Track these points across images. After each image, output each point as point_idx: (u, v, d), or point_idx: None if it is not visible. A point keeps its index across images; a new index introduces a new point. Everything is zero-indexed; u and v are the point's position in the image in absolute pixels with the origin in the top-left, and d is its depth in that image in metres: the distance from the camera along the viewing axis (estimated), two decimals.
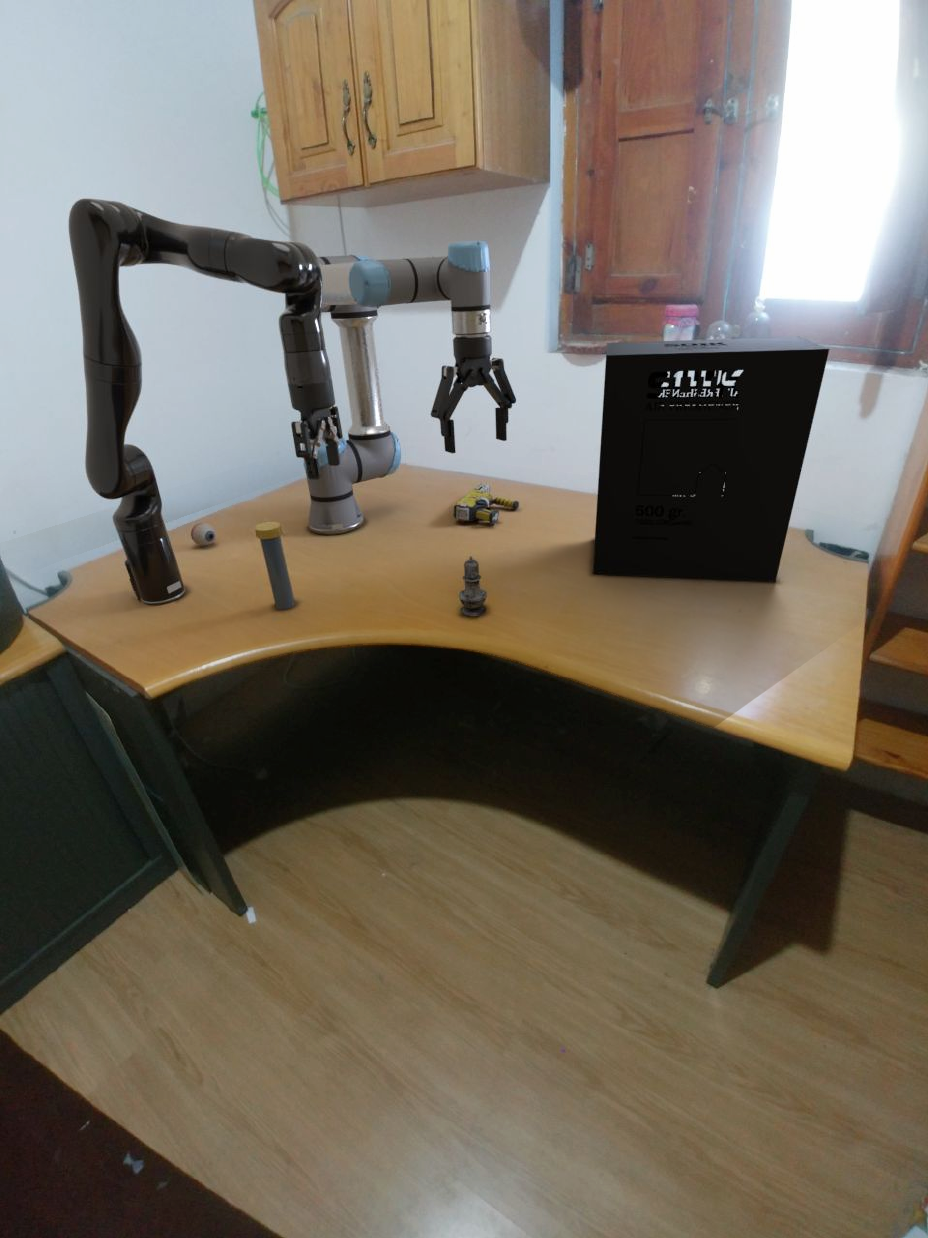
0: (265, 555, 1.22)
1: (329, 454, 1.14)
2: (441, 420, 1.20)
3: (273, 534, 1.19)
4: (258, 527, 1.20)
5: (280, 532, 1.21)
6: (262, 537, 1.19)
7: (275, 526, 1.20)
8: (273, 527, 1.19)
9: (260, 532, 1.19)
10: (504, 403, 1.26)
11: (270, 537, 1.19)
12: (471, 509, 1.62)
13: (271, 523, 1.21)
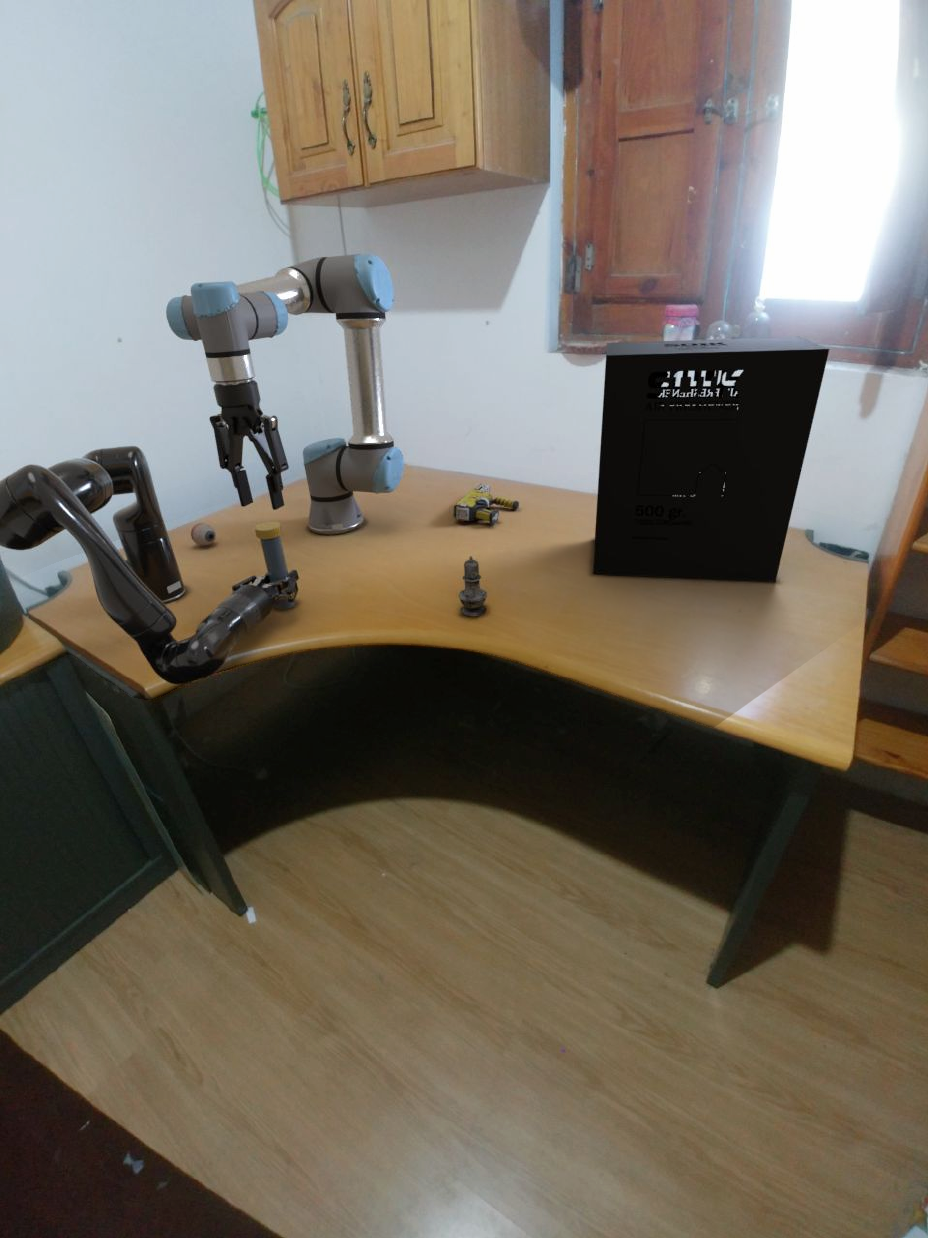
0: (265, 555, 1.22)
1: None
2: (279, 474, 1.13)
3: (273, 534, 1.19)
4: (258, 527, 1.20)
5: (280, 532, 1.21)
6: (262, 537, 1.19)
7: (275, 526, 1.20)
8: (273, 527, 1.19)
9: (260, 532, 1.19)
10: None
11: (270, 537, 1.19)
12: (471, 509, 1.62)
13: (271, 523, 1.21)
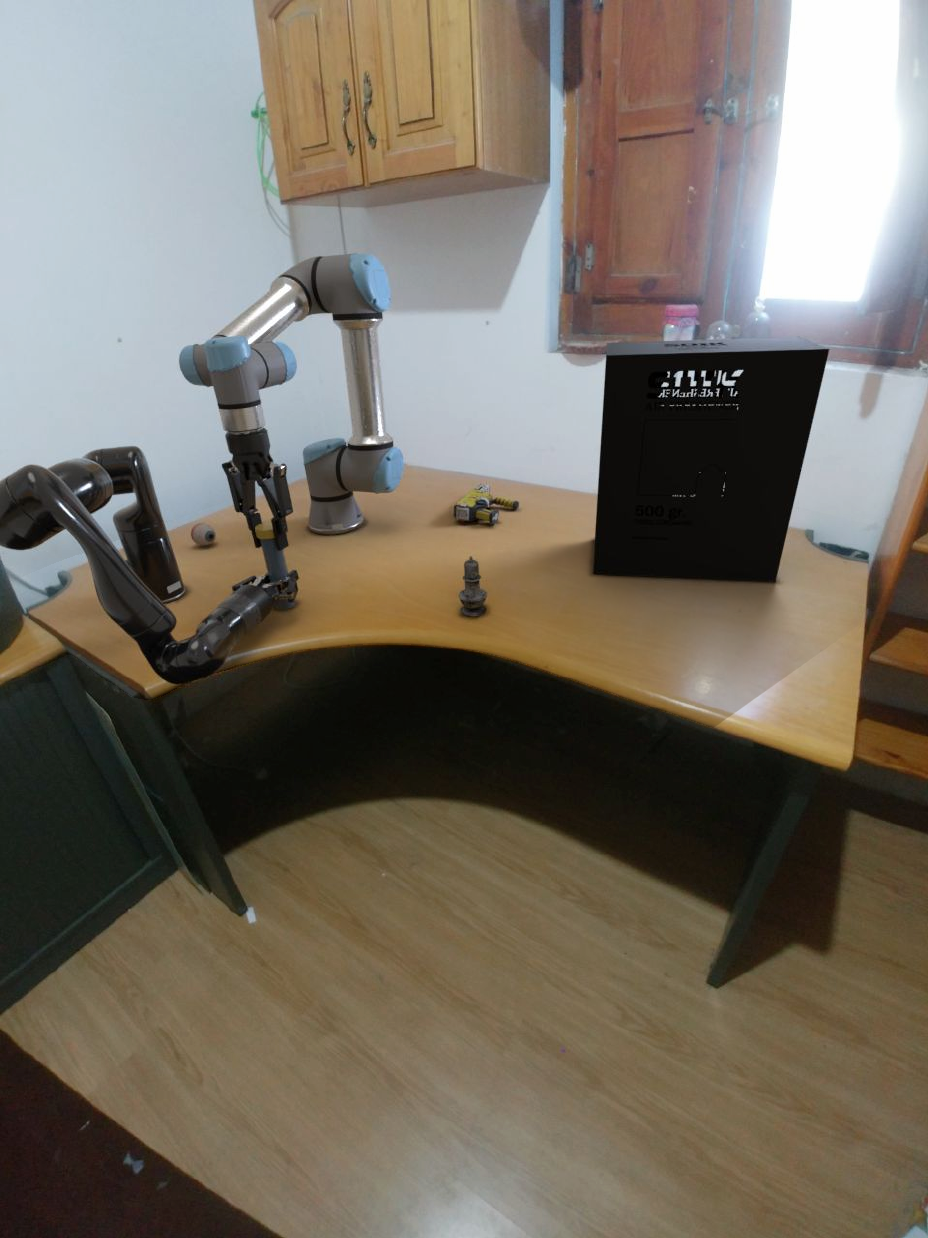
0: (265, 555, 1.22)
1: None
2: (283, 517, 1.18)
3: (273, 534, 1.19)
4: (258, 527, 1.20)
5: None
6: (262, 537, 1.19)
7: None
8: None
9: (260, 532, 1.19)
10: None
11: (270, 537, 1.19)
12: (471, 509, 1.62)
13: (271, 523, 1.21)
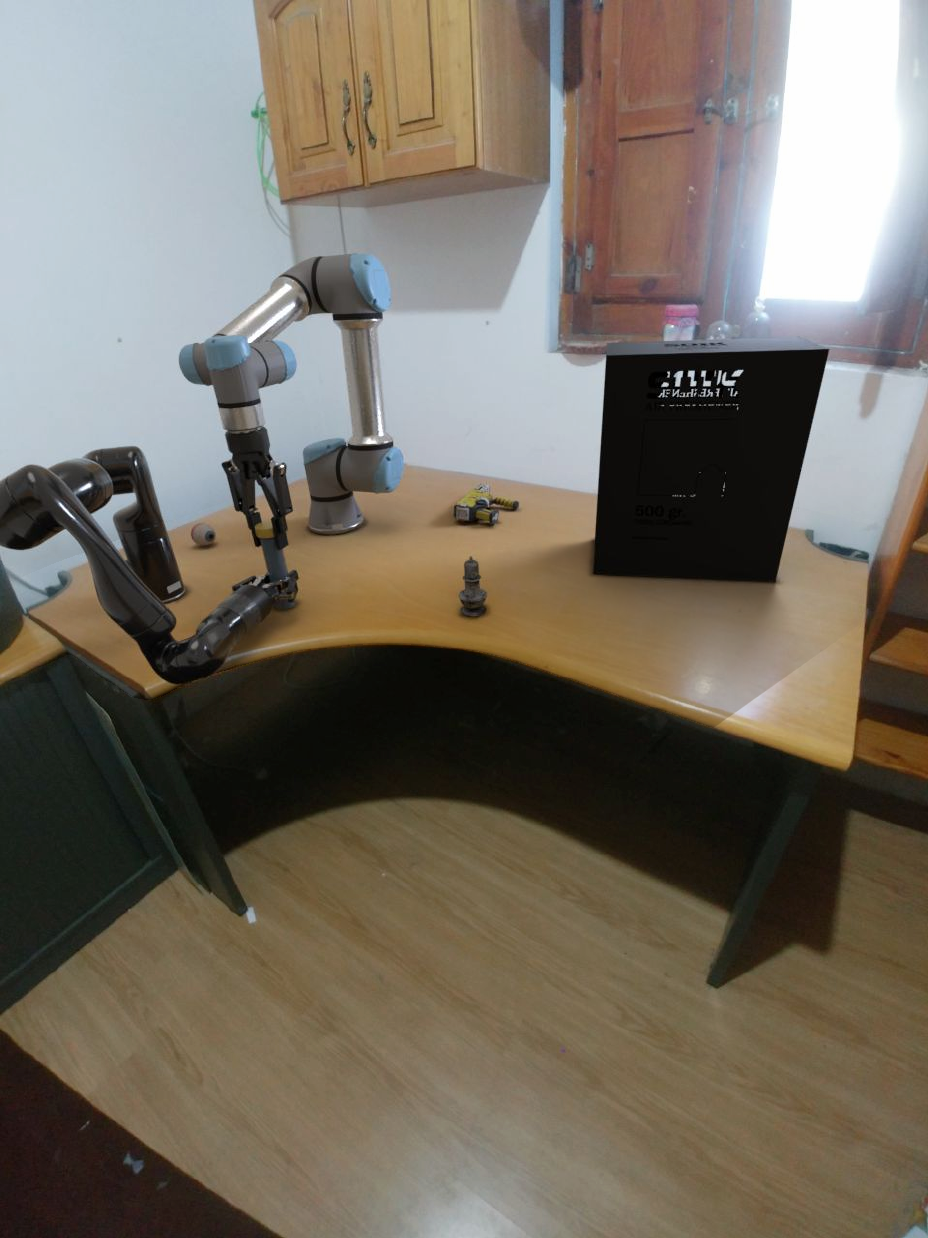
0: (265, 555, 1.22)
1: None
2: (283, 516, 1.18)
3: None
4: None
5: None
6: None
7: (266, 522, 1.22)
8: (269, 521, 1.22)
9: None
10: None
11: None
12: (471, 509, 1.62)
13: (260, 526, 1.20)
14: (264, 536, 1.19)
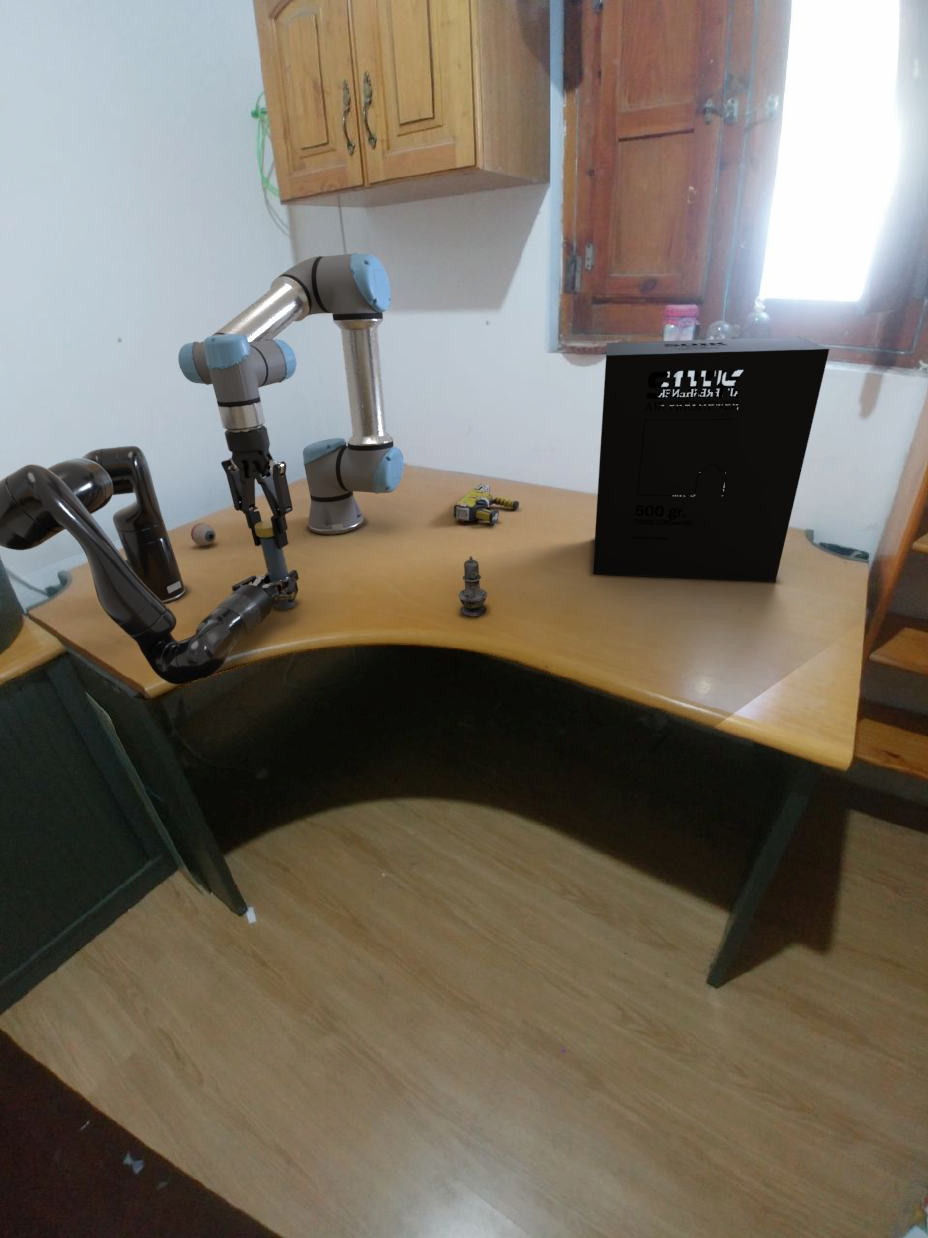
0: (265, 555, 1.22)
1: None
2: (283, 515, 1.18)
3: None
4: (268, 521, 1.22)
5: (261, 535, 1.19)
6: None
7: (260, 527, 1.19)
8: (258, 526, 1.19)
9: None
10: None
11: (256, 532, 1.21)
12: (471, 509, 1.62)
13: (271, 525, 1.19)
14: None
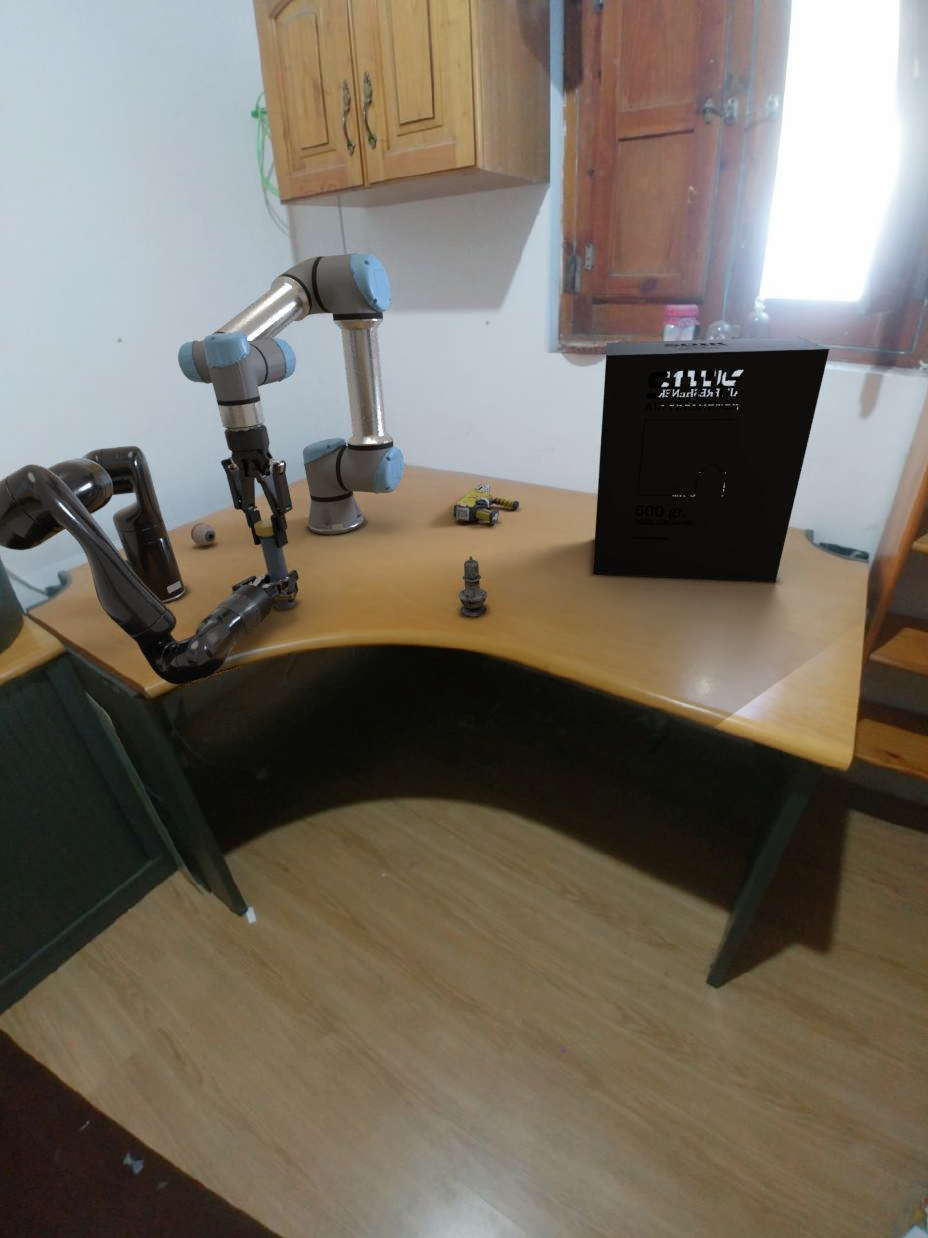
0: (265, 555, 1.22)
1: None
2: (283, 514, 1.17)
3: None
4: (258, 525, 1.19)
5: None
6: (266, 534, 1.19)
7: None
8: None
9: (264, 529, 1.18)
10: None
11: None
12: (471, 509, 1.62)
13: (267, 520, 1.21)
14: None
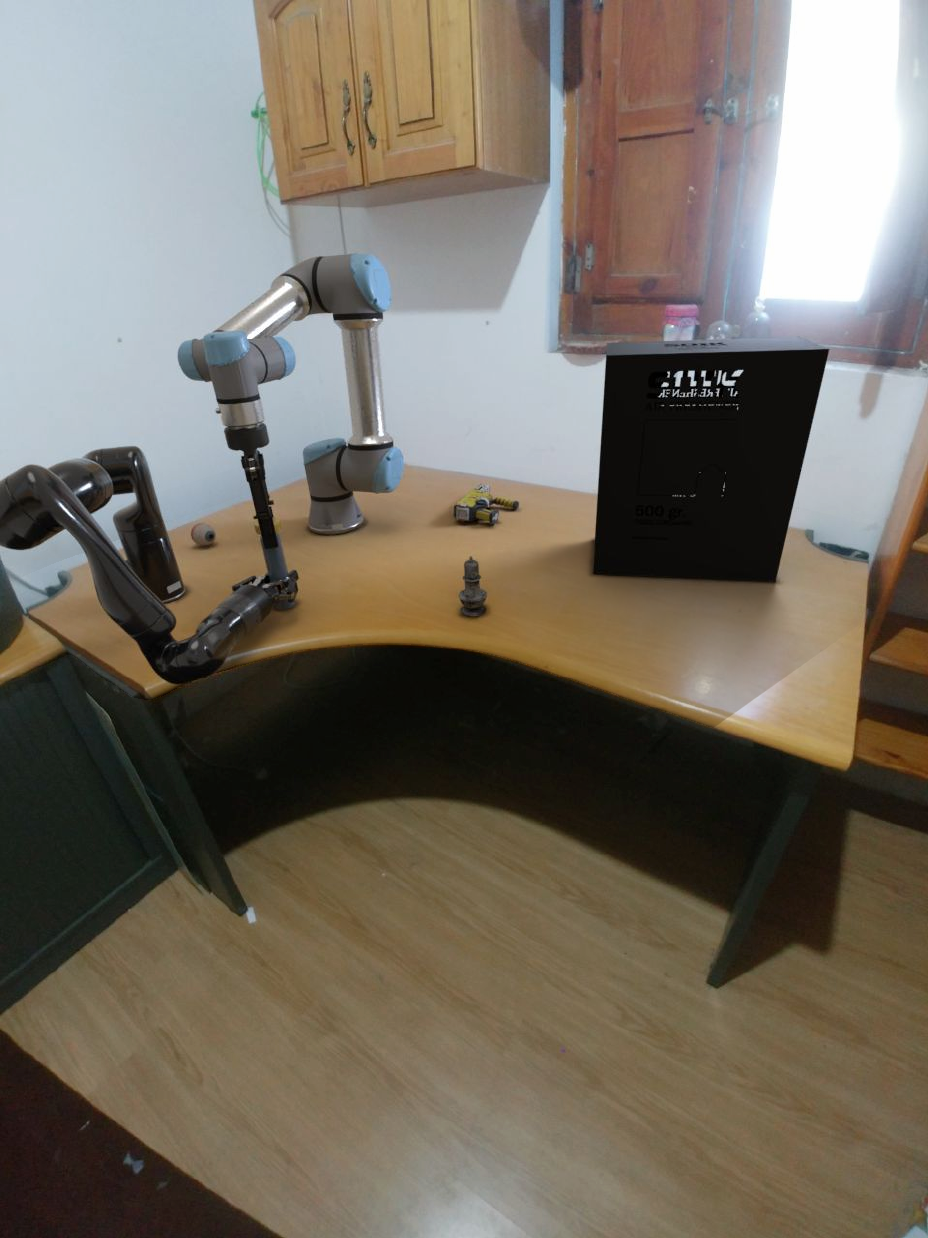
0: (265, 555, 1.22)
1: None
2: None
3: None
4: (274, 521, 1.20)
5: None
6: None
7: None
8: None
9: None
10: None
11: None
12: (471, 509, 1.62)
13: None
14: None
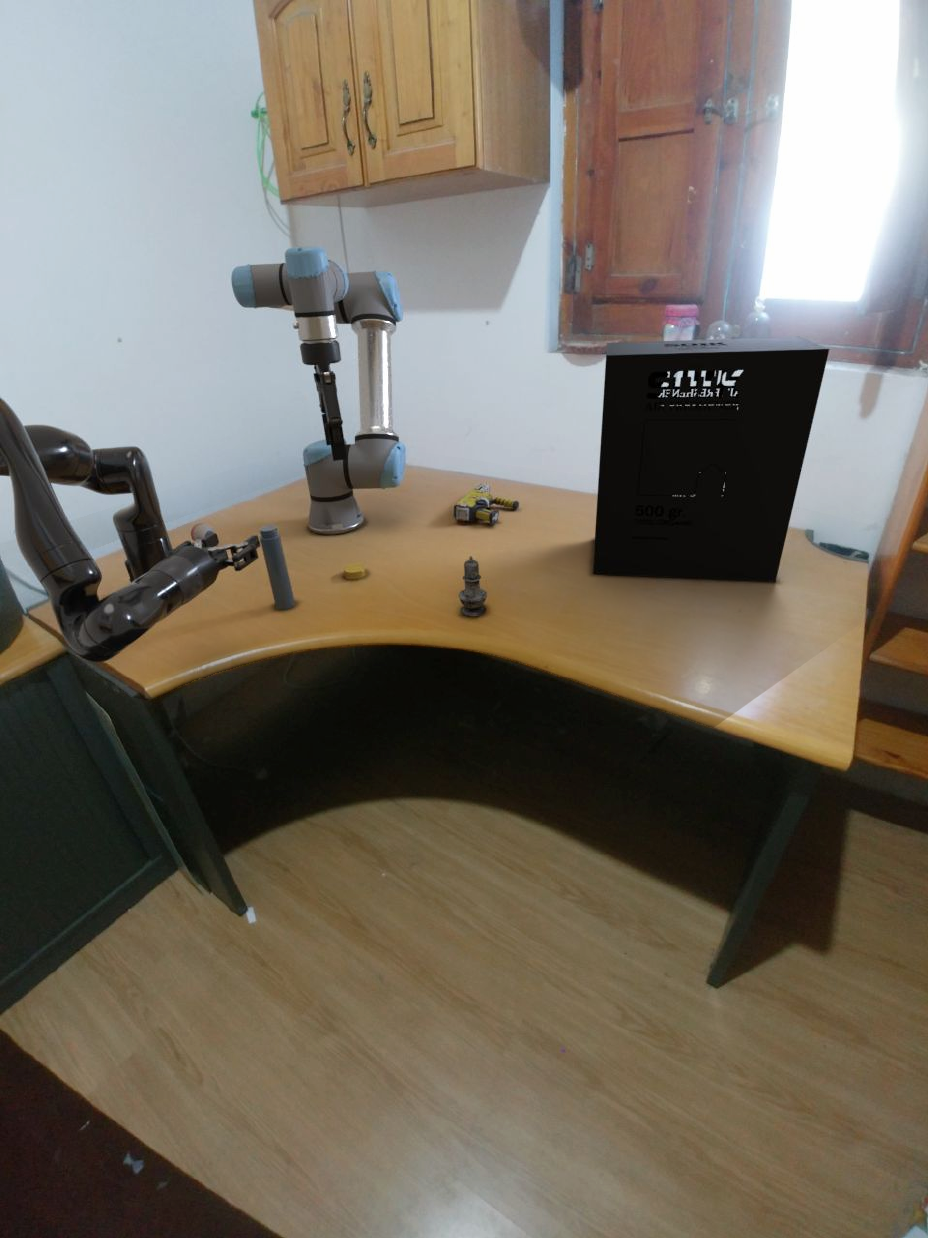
0: (265, 555, 1.22)
1: None
2: None
3: None
4: (361, 567, 1.39)
5: None
6: None
7: (349, 565, 1.41)
8: (351, 565, 1.41)
9: None
10: None
11: None
12: (471, 509, 1.62)
13: (349, 569, 1.39)
14: (357, 577, 1.38)
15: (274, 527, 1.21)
